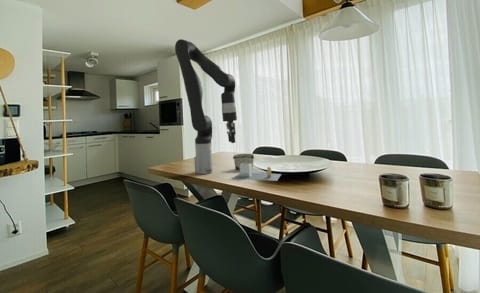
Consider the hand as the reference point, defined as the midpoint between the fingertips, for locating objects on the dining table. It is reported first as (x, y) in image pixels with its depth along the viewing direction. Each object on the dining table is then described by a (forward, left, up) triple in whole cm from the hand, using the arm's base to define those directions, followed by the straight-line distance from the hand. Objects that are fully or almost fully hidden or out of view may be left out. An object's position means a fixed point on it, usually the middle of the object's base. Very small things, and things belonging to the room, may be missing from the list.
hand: (231, 142), depth 128 cm
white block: (+9, -6, -17) cm, 20 cm away
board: (+15, -6, -18) cm, 24 cm away
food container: (+3, +11, -18) cm, 22 cm away
